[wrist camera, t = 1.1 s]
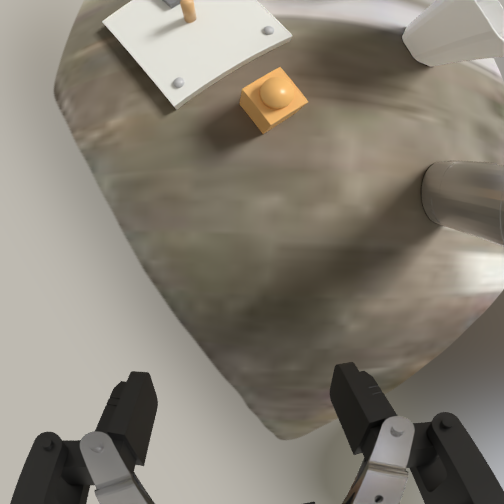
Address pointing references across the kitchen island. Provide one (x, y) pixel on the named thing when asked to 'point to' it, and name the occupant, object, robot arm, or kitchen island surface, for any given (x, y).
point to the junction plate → (194, 40)
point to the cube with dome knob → (271, 100)
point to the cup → (456, 32)
